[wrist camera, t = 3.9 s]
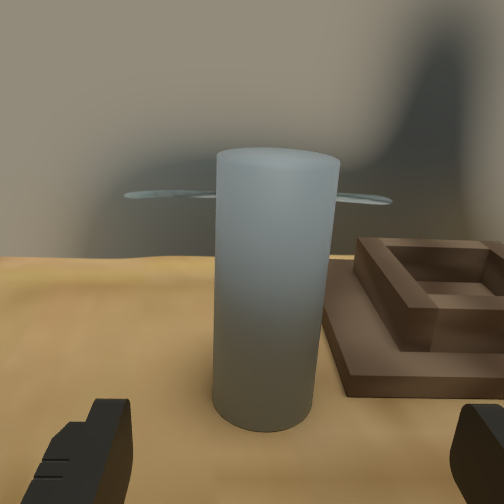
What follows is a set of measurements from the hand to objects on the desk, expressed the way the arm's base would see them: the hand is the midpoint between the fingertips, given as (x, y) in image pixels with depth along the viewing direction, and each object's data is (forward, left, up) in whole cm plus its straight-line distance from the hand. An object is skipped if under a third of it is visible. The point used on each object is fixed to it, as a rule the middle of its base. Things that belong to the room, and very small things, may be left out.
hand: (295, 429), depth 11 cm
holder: (-12, -16, -6) cm, 21 cm away
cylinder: (0, -9, -6) cm, 11 cm away
